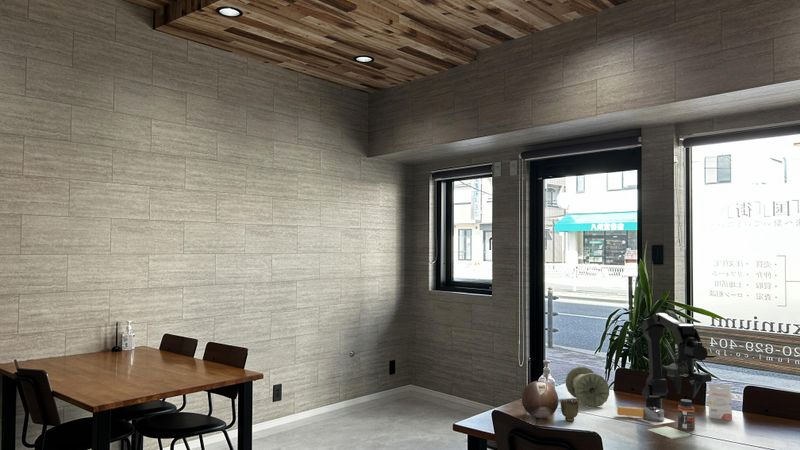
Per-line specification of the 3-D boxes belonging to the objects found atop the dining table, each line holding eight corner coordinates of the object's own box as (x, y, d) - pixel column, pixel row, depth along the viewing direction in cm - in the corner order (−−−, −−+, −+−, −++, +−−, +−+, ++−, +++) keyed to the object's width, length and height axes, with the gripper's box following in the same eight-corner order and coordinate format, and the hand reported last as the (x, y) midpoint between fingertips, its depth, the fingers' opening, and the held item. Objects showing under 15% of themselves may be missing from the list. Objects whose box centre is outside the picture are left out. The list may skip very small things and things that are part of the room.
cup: (580, 424, 232) (579, 404, 232) (561, 423, 234) (561, 403, 234) (578, 419, 239) (578, 399, 240) (559, 417, 241) (559, 398, 241)
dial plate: (651, 415, 247) (651, 414, 247) (676, 422, 236) (675, 421, 236) (631, 418, 242) (631, 417, 242) (655, 426, 231) (655, 424, 231)
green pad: (666, 427, 229) (666, 426, 229) (691, 435, 219) (691, 434, 219) (646, 431, 224) (646, 429, 224) (670, 439, 214) (670, 437, 214)
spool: (609, 407, 258) (609, 374, 259) (575, 407, 258) (575, 373, 259) (597, 398, 275) (597, 366, 275) (565, 398, 275) (565, 366, 276)
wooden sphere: (530, 423, 232) (530, 385, 233) (515, 413, 247) (516, 378, 248) (565, 421, 235) (565, 384, 236) (548, 411, 250) (548, 376, 251)
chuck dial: (661, 417, 242) (661, 405, 242) (665, 422, 234) (665, 410, 234) (616, 414, 246) (616, 402, 246) (618, 419, 238) (618, 407, 238)
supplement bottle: (688, 432, 223) (687, 402, 224) (674, 428, 228) (674, 399, 229) (698, 430, 226) (697, 401, 226) (684, 426, 231) (684, 397, 232)
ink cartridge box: (731, 418, 243) (731, 383, 244) (732, 421, 239) (731, 385, 240) (708, 415, 247) (708, 381, 248) (708, 418, 243) (708, 383, 244)
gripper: (651, 353, 233) (651, 392, 233) (692, 361, 217) (692, 403, 216) (670, 351, 238) (671, 390, 237) (712, 359, 221) (712, 400, 221)
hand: (685, 395), depth 228 cm, fingers open, 6 cm apart
